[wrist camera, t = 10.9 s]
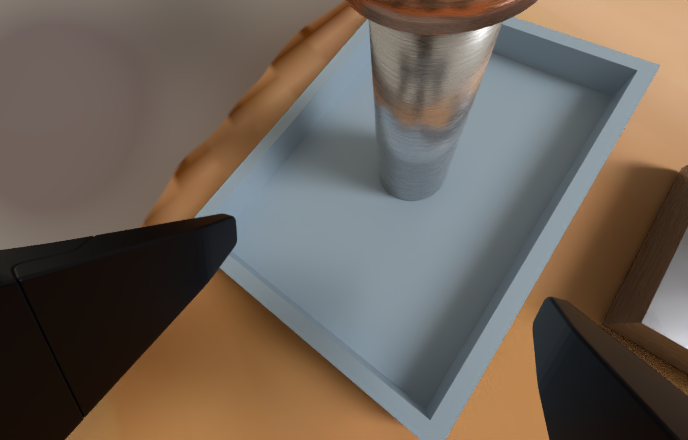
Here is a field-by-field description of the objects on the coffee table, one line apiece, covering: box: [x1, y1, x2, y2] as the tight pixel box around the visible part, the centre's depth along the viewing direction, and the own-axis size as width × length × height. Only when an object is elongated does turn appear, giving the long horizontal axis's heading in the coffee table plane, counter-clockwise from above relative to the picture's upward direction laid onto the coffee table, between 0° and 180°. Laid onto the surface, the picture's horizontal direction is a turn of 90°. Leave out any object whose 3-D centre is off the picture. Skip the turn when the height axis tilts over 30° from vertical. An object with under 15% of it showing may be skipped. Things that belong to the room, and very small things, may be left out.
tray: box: [194, 17, 660, 440], centre depth 18 cm, size 22×16×3 cm
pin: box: [346, 0, 537, 201], centre depth 13 cm, size 6×6×12 cm
